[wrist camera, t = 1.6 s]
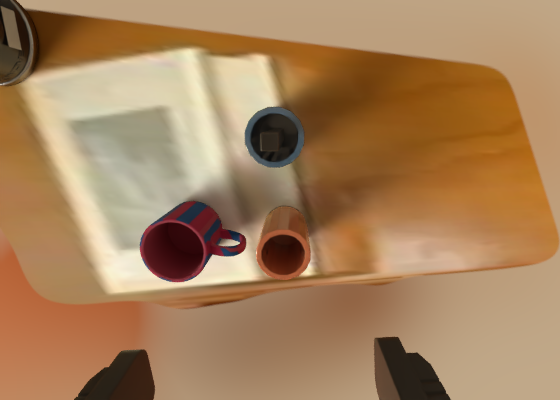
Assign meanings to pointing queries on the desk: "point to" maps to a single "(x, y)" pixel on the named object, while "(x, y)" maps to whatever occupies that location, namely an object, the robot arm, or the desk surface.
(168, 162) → the desk surface
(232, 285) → the desk surface
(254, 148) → the holder
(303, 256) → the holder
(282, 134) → the chopstick
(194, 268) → the mug
